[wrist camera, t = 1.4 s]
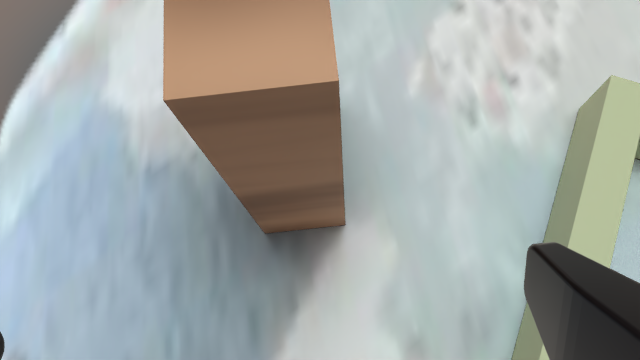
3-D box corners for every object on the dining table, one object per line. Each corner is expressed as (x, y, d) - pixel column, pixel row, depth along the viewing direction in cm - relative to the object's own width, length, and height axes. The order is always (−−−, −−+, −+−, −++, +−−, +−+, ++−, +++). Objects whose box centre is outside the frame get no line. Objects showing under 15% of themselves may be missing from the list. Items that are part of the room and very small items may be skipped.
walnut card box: (345, 224, 22) (340, 80, 10) (264, 233, 22) (161, 100, 10) (331, 100, 24) (313, -146, 12) (256, 108, 24) (163, -128, 12)
